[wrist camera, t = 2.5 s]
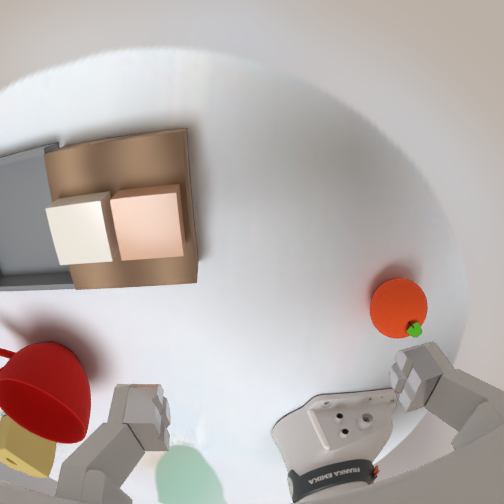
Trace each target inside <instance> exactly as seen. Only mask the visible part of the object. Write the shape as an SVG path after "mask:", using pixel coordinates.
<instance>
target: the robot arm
mask: <svg viewBox="0 0 504 504" xmlns="http://www.w3.org/2000/svg"><path fill="white" fill-rule="evenodd" d="M395 360H396V363H395V364H394V365H393V366H392V367H391V370H390V382H391V385H392V387H393V389H384V390H376V391H366V392H356V393H345V394H331V395H319V396H316V397H314V398H313V399H311V400H310V401H309V402H308V403H307V404H306V405H305V406H304V407H302V408H300V409H298V410H296V411H294V412H292V413H291V414H289V415H287V416H286V417H284V418H283V419H281V420H280V421H279V422H278V423H277V424H276V425H275V426H274V428H273V430H272V438H273V440H274V442H275V443H276V445H277V447H278V449H279V451H280V453H281V455H282V458H283V460H284V463H285V465H286V468H287V471H288V478H287V480H288V485H289V490H290V495H291V498H292V500H293V503H292V504H504V391H502V390H500V389H498V388H496V387H494V386H492V385H490V384H488V383H485V382H484V381H482V380H480V379H478V378H475V377H473V376H471V375H469V374H467V373H465V372H463V371H461V370H459V369H457V370H455V369H454V367H453V366H452V365H451V363H450V362H449V361H448V359H447V358H446V356H445V355H444V354H443V352H442V351H441V350H440V348H439V347H438V346H437V344H436V343H434V342H429V343H426V344H422V345H418V346H414V347H411V348H407V349H404V350H400V351H398V352H397V353H396V356H395ZM395 391H396V392H398V393H400V396H399V401H400V402H401V404H402V406H403V408H404V410H405V412H409V411H412V410H415V409H418V408H421V407H424V406H425V408H426V409H427V410H429V411H430V412H432V413H433V414H434V415H436V416H437V417H439V418H440V419H442V420H443V421H444V422H446V423H447V424H448V425H450V426H451V427H453V428H454V429H456V430H457V431H458V434H457V435H456V436H455V437H454V439H453V440H452V442H451V444H452V446H453V448H454V450H455V451H453V452H451V453H449V454H447V455H445V456H443V457H441V458H438V459H436V460H434V461H432V462H429V463H427V464H425V465H422V466H420V467H417V468H415V469H413V470H410V471H407V472H405V473H402V474H400V475H397V476H394V477H391V478H388V479H385V480H383V481H380V482H377V483H374V482H373V481H374V480H375V479H376V478H377V474H378V473H379V471H380V470H378V466H376V467H375V468H374V466H373V465H372V462H373V461H374V460H375V458H376V457H377V456H378V454H379V453H380V451H381V450H382V449H383V447H384V446H385V444H386V442H387V441H388V439H389V437H390V435H391V432H392V418H391V415H392V413H393V411H394V409H395V406H396V403H397V395H396V393H395ZM163 392H164V390H163V388H162V386H161V385H160V384H117V385H116V387H115V389H114V394H113V398H112V402H111V407H110V412H109V416H108V421H107V423H102V424H101V425H100V426H99V427H98V428H97V429H96V430H95V431H94V432H93V433H92V434H91V435H90V436H89V437H88V438H87V439H86V440H85V441H84V442H83V443H82V444H81V445H80V446H79V447H78V448H77V449H76V450H75V451H74V452H73V453H72V454H71V455H70V456H69V457H68V458H67V459H66V460H65V461H64V462H63V463H62V466H61V470H60V475H59V480H58V485H57V489H56V495H55V496H52V495H48V494H44V493H41V492H36V491H34V490H30V489H27V488H23V487H20V486H17V485H14V484H12V483H9V482H5V481H3V480H0V504H132V499H131V498H130V497H129V496H128V495H127V494H126V493H124V492H123V491H122V490H121V489H120V487H121V485H122V484H123V483H124V481H125V480H126V478H127V477H128V476H129V474H130V473H131V472H132V470H133V469H134V467H135V466H136V465H137V463H138V462H139V460H140V459H141V458H142V456H143V455H144V453H145V451H169V437H170V435H169V432H168V430H167V427H168V426H169V425H170V408H169V403H168V401H167V399H166V398H165V397H163ZM377 470H378V471H377Z"/></svg>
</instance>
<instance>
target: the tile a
mask: <svg viewBox="0 0 504 504" xmlns="http://www.w3.org/2000/svg"><path fill="white" fill-rule="evenodd" d="M110 199H111V195H110V191H108V192H101V193H93V194H86V195H79V196H72V197H66V198H59V199H57V200H56V201H54V202H53V203H52V204H50V205H49V206H48V207H47V208H45V210H46V214H47V218H48V222H49V227H50V231H51V234H52V238H53V242H54V246H55V249H56V253H57V256H58V260H59V263H60V265H70V264H83V263H97V262H111V261H113V260H114V258H115V256H116V254H117V252H118V251H119V245H118V241H117V236H116V231H115V226H114V220H113V215H112V209H111V203H110Z"/></svg>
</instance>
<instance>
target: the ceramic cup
mask: <svg viewBox="0 0 504 504" xmlns="http://www.w3.org/2000/svg"><path fill="white" fill-rule="evenodd" d="M0 356H3V357H7V358H9V359H10V360H9V361H8V362H7V364H6V365H5V366H4V367H2V368H1V369H0V407H1V409H2V410H3V411H4V412H5V413H6V414H7V415H8V416H9V417H10V418H11V419H12V420H13V421H15V422H16V423H17V424H19V425H20V426H21V427H23V428H24V429H26V430H28V431H29V432H31V433H33V434H35V435H37V436H39V437H42V438H44V439H47V440H50V441H54V442H58V443H68V444H71V443H77V442H79V441H82V440H83V439H84V438H85V436H86V433H87V429H88V424H89V418H90V410H91V394H90V386H89V382H88V379H87V376H86V373H85V371H84V369H83V368H82V366H81V364H80V362H79V360H78V358H77V357H76V355H75V354H74V353H73V352H72V351H70V350H69V349H68V348H66V347H65V346H63V345H61V344H58V343H54V342H45V343H37V344H32V345H29V346H27V347H25V348H23V349H21V350H20V351H18V352H17V353H14V352H11V351H8V350H5V349H1V348H0Z"/></svg>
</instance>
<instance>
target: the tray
mask: <svg viewBox="0 0 504 504" xmlns="http://www.w3.org/2000/svg"><path fill="white" fill-rule="evenodd" d="M56 149H59V144H58V143H54V144H50V145H46V146H41V147H37V148H33V149H30V150H26V151H22V152H18V153H15V154H11V155H8V156H4V157H1V158H0V291H28V290H56V289H75V286H74V283H73V280H72V277H71V273H70V270H69V267H68V265H60V263H59V260H58V256H57V253H56V249H55V246H54V242H53V238H52V234H51V231H50V227H49V222H48V218H47V214H46V210H45V208H47V207H48V206H49V205H50V204H52V199H51V194H50V189H49V184H48V178H47V173H46V166H45V160H44V154H46V153H49V152H51V151H54V150H56Z"/></svg>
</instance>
